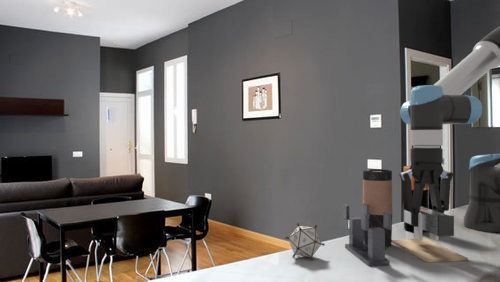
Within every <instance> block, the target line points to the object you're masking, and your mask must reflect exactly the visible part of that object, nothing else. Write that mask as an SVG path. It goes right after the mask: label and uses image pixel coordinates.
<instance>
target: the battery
mask: <svg viewBox="0 0 500 282" xmlns="http://www.w3.org/2000/svg"><path fill="white" fill-rule="evenodd" d="M410 166H411V165H407V166H406V165H404V166H403V172H406V171H408V170H409V168H410ZM411 177H412V178H411V184H412V197H413V191H414V177H413V176H412V175H411ZM429 197H430V191H429V187H428V185H427V184H426V185H425V188H424V190H423V195H422V201H421V207H425V208H428V209H430V207H429V205H430V203H429V202H430V201H429ZM403 229H404V230H406V231H410V232H414V226H412V225H411V224H408V223H406V222H403ZM424 232H427V231H425V230H423V229H422V233H424Z"/></svg>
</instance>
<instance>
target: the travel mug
mask: <svg viewBox="0 0 500 282" xmlns="http://www.w3.org/2000/svg"><path fill="white" fill-rule="evenodd" d="M363 204H368V205H370V219H369V228H379V227H380V228H382V229H384V230H385V248H390V247H391V246H392V242H391V241H392V240H393V239H392V238H393V237H392V236H393V231H392V230H393V229H392V230H388V229H386V228H384V227H383V212H387V213H390V214H391V225H392V226H393V172H392V170H391V169H378V168H375V169H373V168H371V169H369V170H364V169H363V170H362V205H363ZM364 244H365V245H367V246H368V230H367V231H365V230H364Z"/></svg>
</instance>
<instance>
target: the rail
mask: <svg viewBox="0 0 500 282" xmlns="http://www.w3.org/2000/svg"><path fill="white" fill-rule="evenodd" d="M419 214H422V229H423V230H425V231H426V232H428V233H429V234H430V233H432V234H435V235H437V236H439V237H455V215H449V214H446V213H444V214H443V213H440V212H437V211H434V210H433V209H431V208H429V209H428V208H425V207H420V212H419ZM402 222H403V223H404V222H406V223H408V224H411V213H410V212H409V211H406V210H404V207H403V206H402ZM411 225H412V224H411Z"/></svg>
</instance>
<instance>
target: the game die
mask: <svg viewBox="0 0 500 282" xmlns="http://www.w3.org/2000/svg"><path fill="white" fill-rule="evenodd" d="M296 225H297V227H296V228H295V229H294V230H293V232H292V233H290V235H289V236H284V238H285V240H288V242H289V244H290V246H291V249H292V252H293V255H292V258H295V256H301V257H305V258H306V257H308V258H310V260H311V261H314V257H313V256H314V255H315V253H316V252H317V251H318V250H319V248H320V247H321V246H322V247H323V246H326V244H325V243H324V242H321V238H320V237H319V236H320V235H319V233H318V230H317V227H318V224H315V225H314V227H313V226H306V225H300V223H299V222H296Z"/></svg>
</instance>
